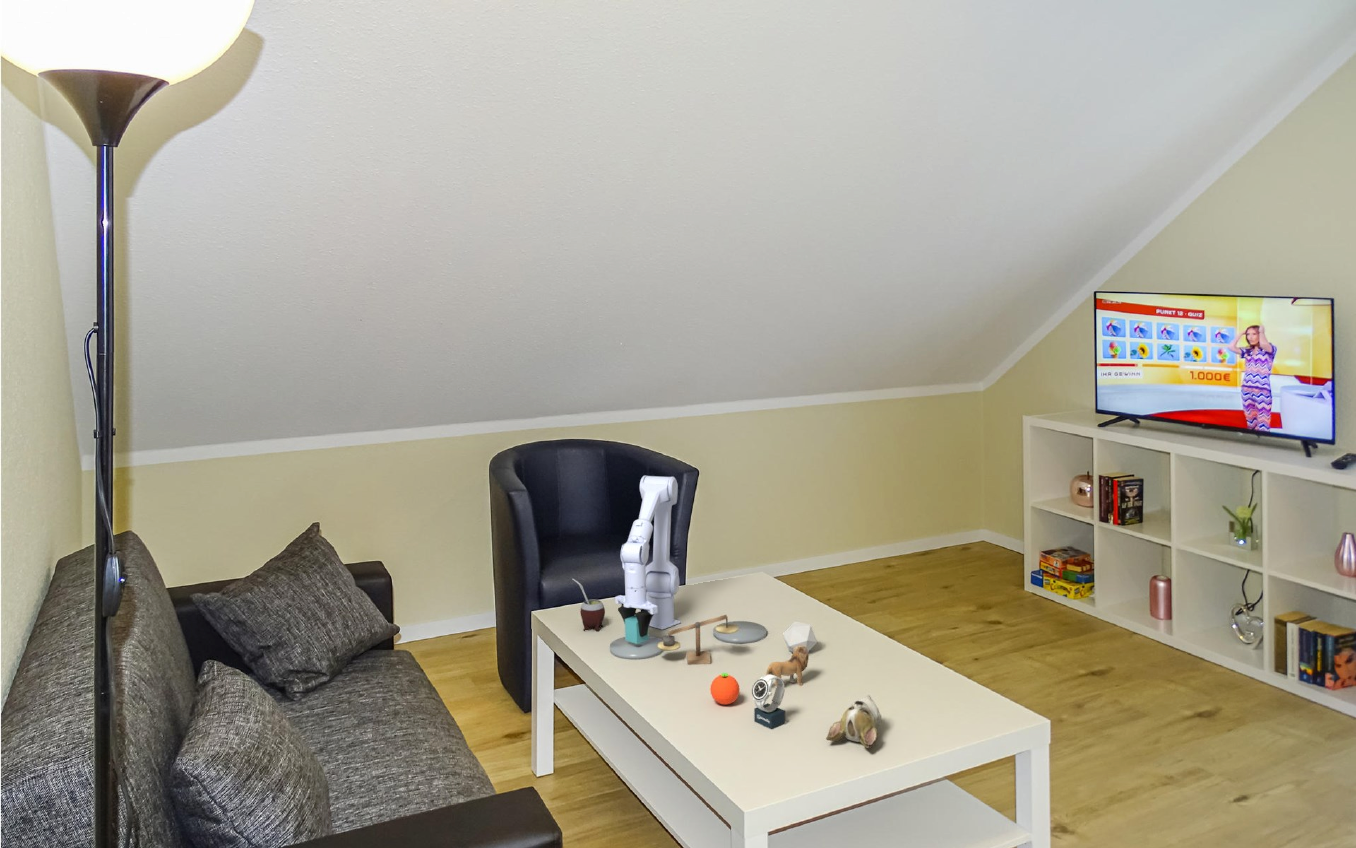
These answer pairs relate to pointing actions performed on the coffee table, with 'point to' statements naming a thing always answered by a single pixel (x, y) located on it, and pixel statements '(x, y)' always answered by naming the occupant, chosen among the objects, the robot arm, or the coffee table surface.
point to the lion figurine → (791, 665)
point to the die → (799, 636)
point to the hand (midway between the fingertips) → (636, 633)
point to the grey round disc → (742, 633)
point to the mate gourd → (591, 612)
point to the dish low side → (635, 648)
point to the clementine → (724, 689)
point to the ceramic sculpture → (858, 723)
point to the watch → (769, 712)
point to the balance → (697, 655)
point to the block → (633, 631)
